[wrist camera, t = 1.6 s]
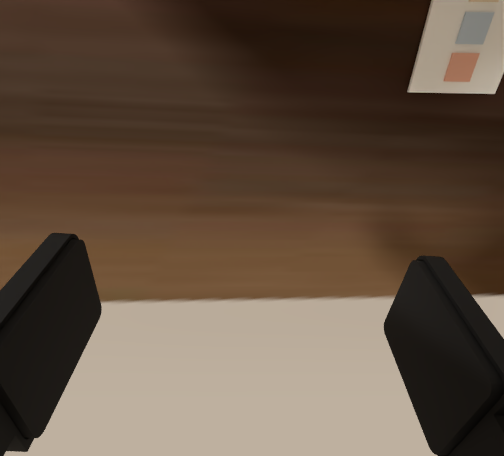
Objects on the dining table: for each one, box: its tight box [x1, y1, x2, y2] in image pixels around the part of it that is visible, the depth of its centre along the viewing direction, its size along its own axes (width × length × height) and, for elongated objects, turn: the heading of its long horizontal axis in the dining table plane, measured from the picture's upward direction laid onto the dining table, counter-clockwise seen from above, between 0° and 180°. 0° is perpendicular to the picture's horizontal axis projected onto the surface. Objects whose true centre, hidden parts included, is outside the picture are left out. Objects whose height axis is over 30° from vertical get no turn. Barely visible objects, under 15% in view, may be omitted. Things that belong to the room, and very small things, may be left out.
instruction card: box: [407, 0, 504, 94], centre depth 24 cm, size 9×7×1 cm
